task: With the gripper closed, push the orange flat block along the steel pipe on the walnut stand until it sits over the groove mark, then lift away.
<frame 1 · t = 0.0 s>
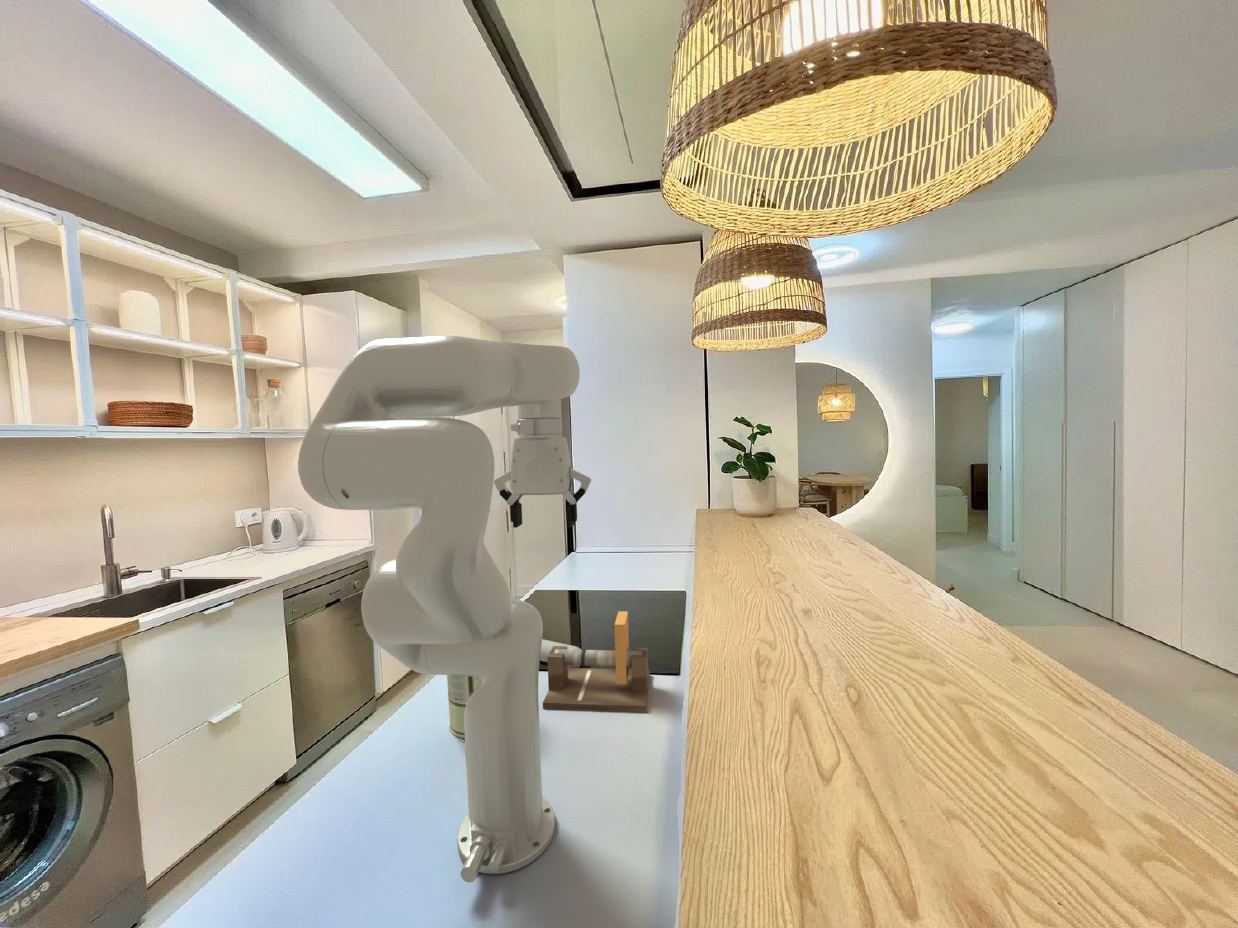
hand: (544, 526, 86), 37 cm above the table, tool pointing down, fingers open, 9 cm apart
orange flat block: (622, 646, 98), point 9 cm above the table, slide at 0.0 cm
coffee can: (478, 722, 90), on the table
pipe stand: (599, 690, 99), on the table
tube: (537, 659, 115), on the table
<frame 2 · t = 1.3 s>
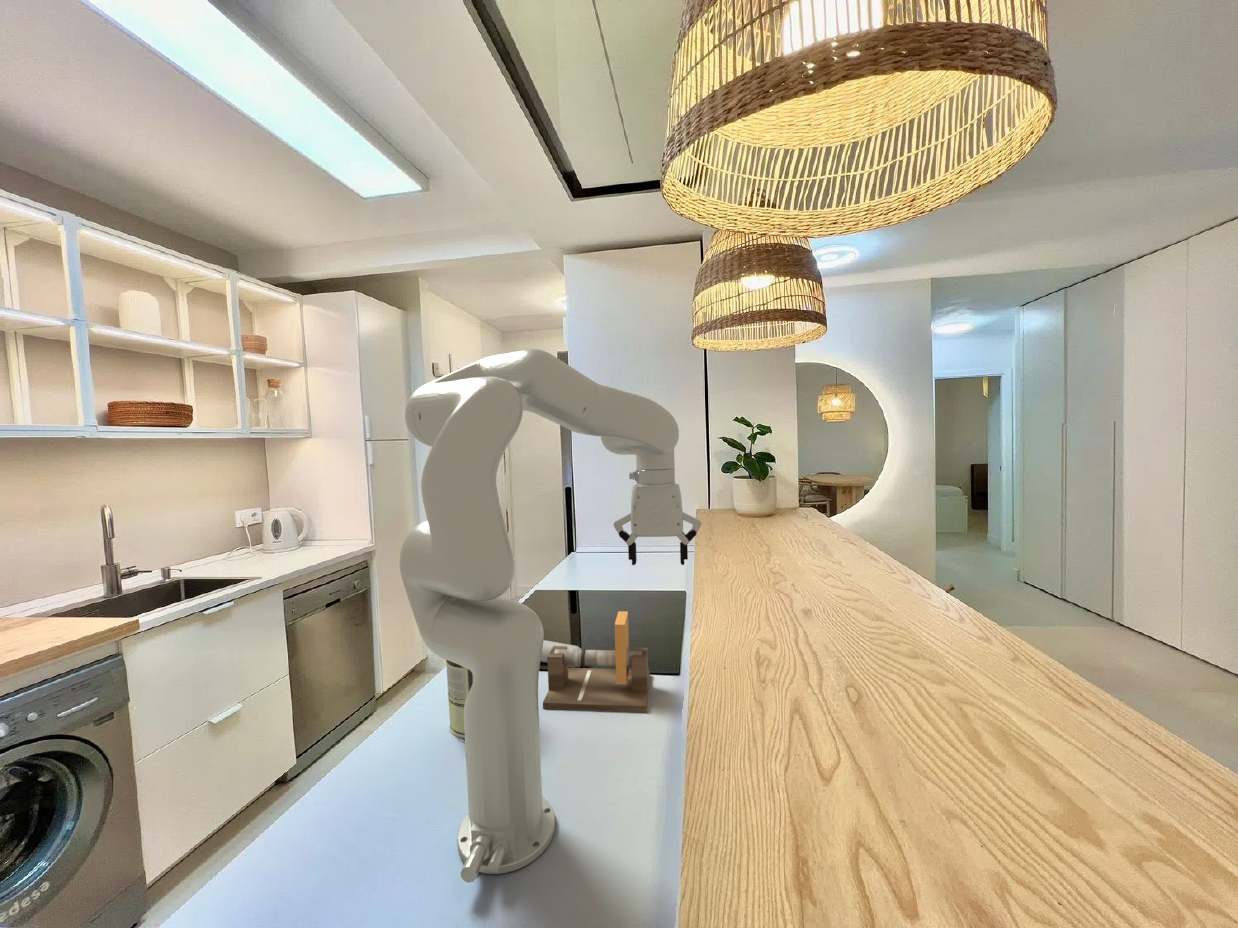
hand: (658, 563, 96), 27 cm above the table, tool pointing down, fingers open, 9 cm apart
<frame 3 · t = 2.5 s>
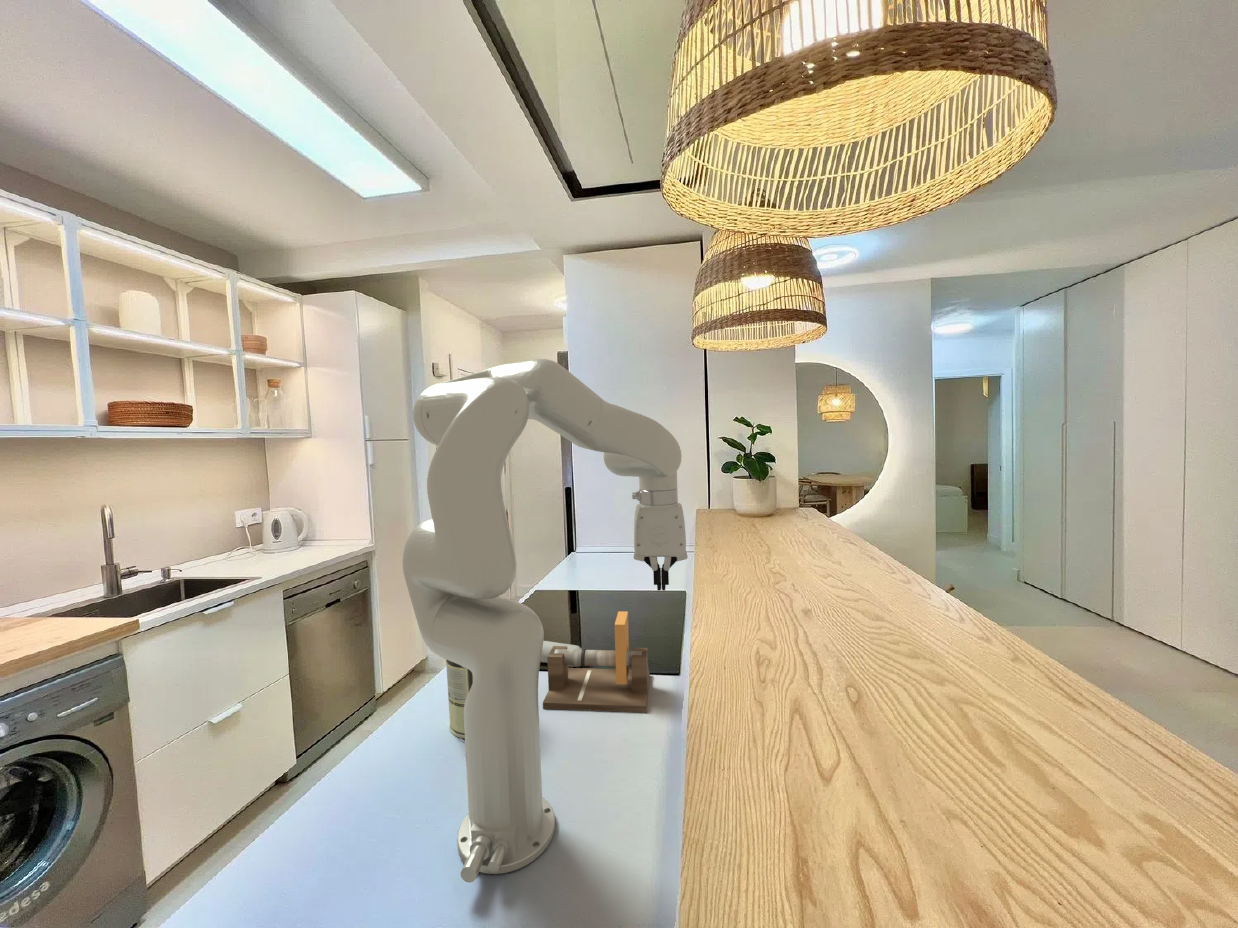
hand: (661, 588, 97), 22 cm above the table, tool pointing down, fingers closed
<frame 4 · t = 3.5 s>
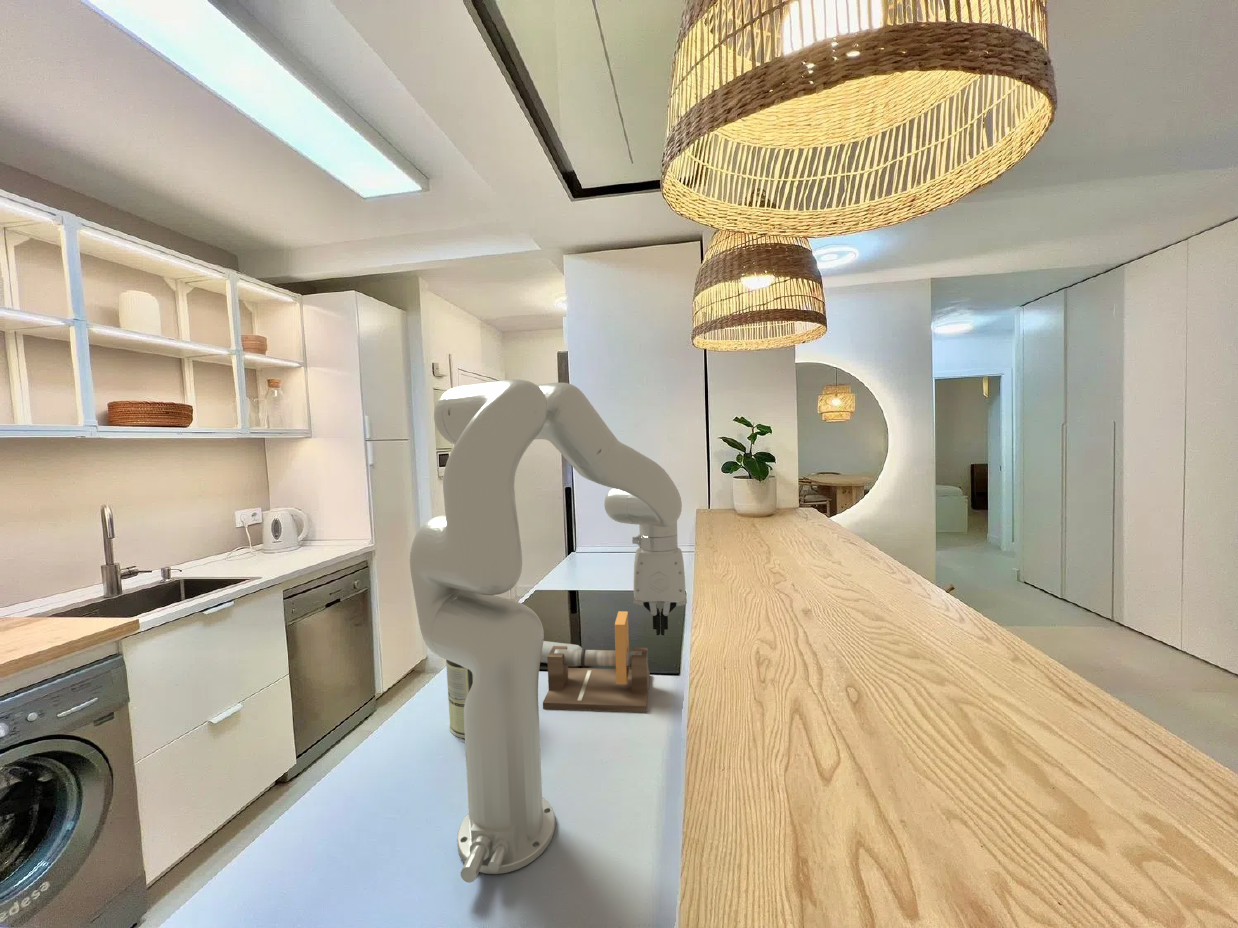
hand: (660, 632, 97), 13 cm above the table, tool pointing down, fingers closed
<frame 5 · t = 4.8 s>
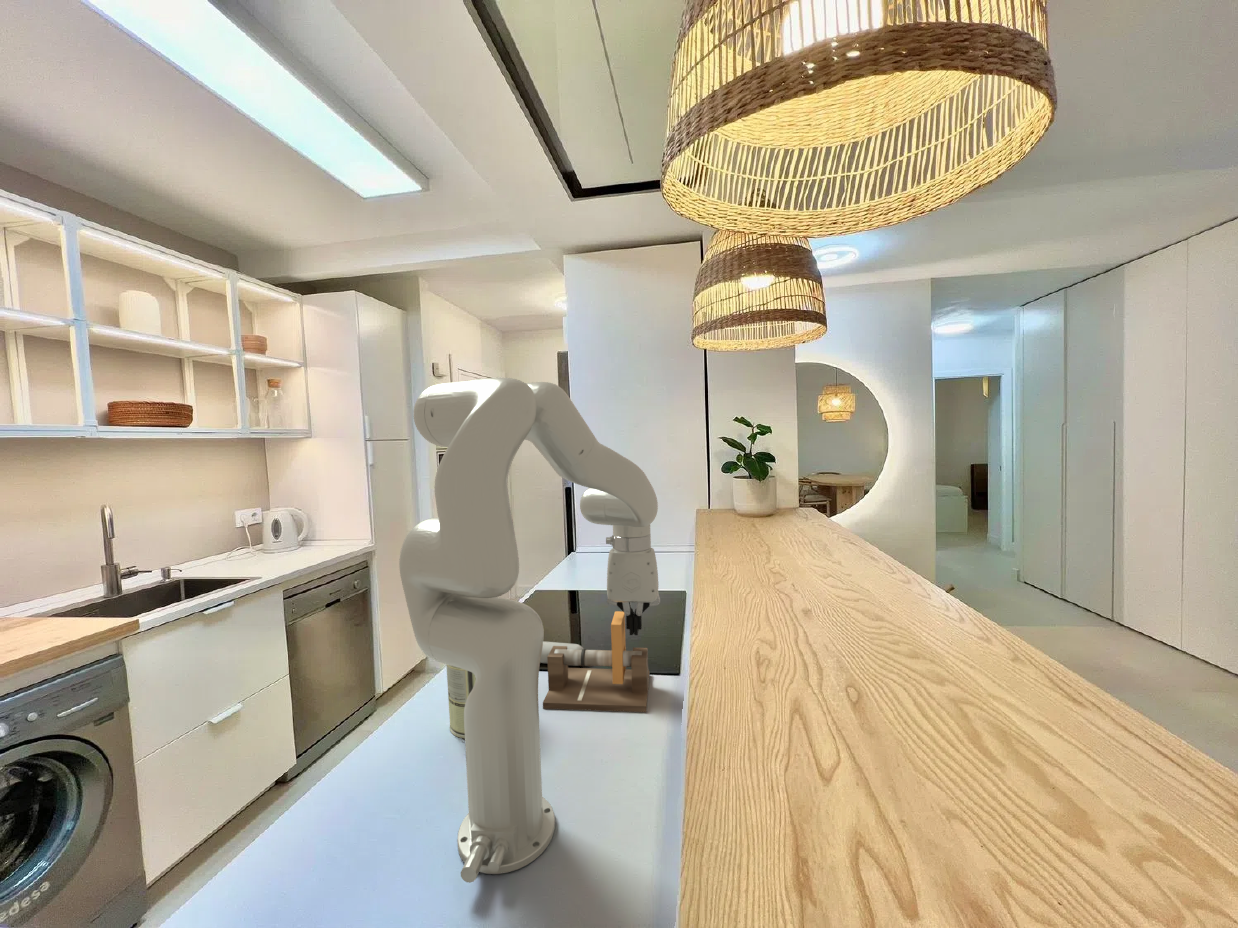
hand: (634, 632, 98), 13 cm above the table, tool pointing down, fingers closed
orange flat block: (618, 646, 98), point 10 cm above the table, slide at 0.7 cm, touching gripper
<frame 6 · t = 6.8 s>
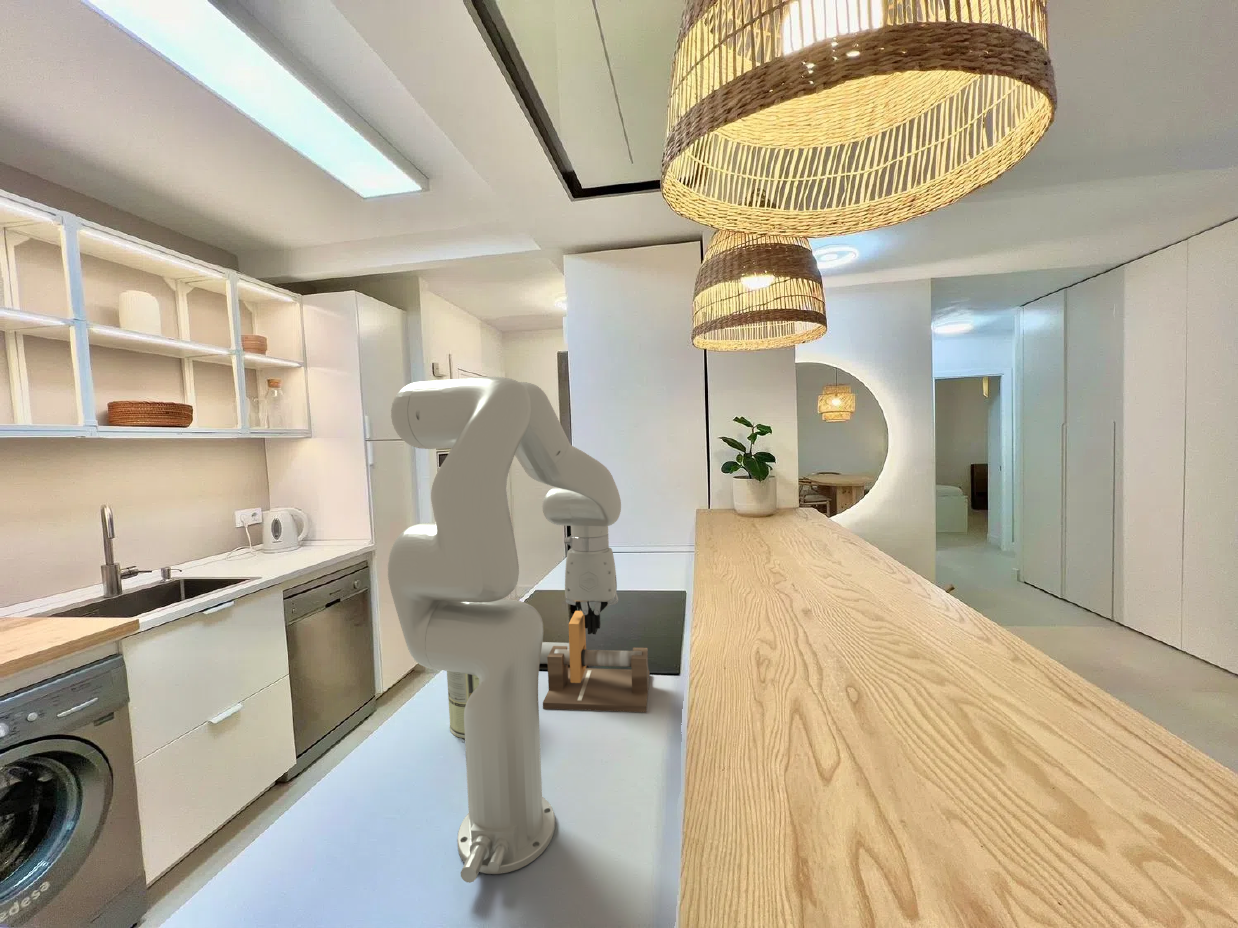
hand: (592, 631, 99), 13 cm above the table, tool pointing down, fingers closed
orange flat block: (577, 645, 99), point 9 cm above the table, slide at 9.2 cm, touching gripper
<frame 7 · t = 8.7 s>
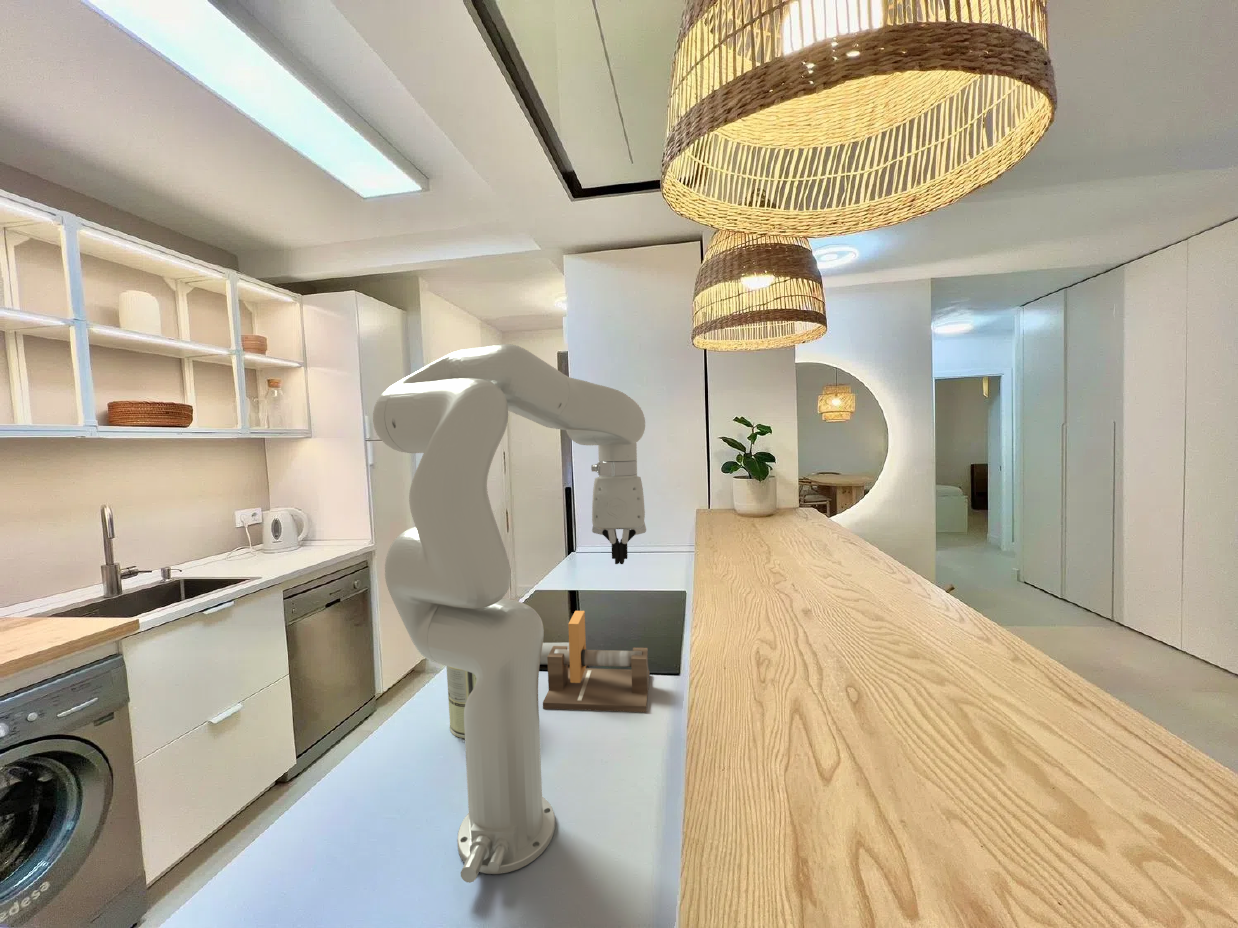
hand: (619, 562, 96), 27 cm above the table, tool pointing down, fingers closed
orange flat block: (577, 645, 99), point 9 cm above the table, slide at 9.2 cm
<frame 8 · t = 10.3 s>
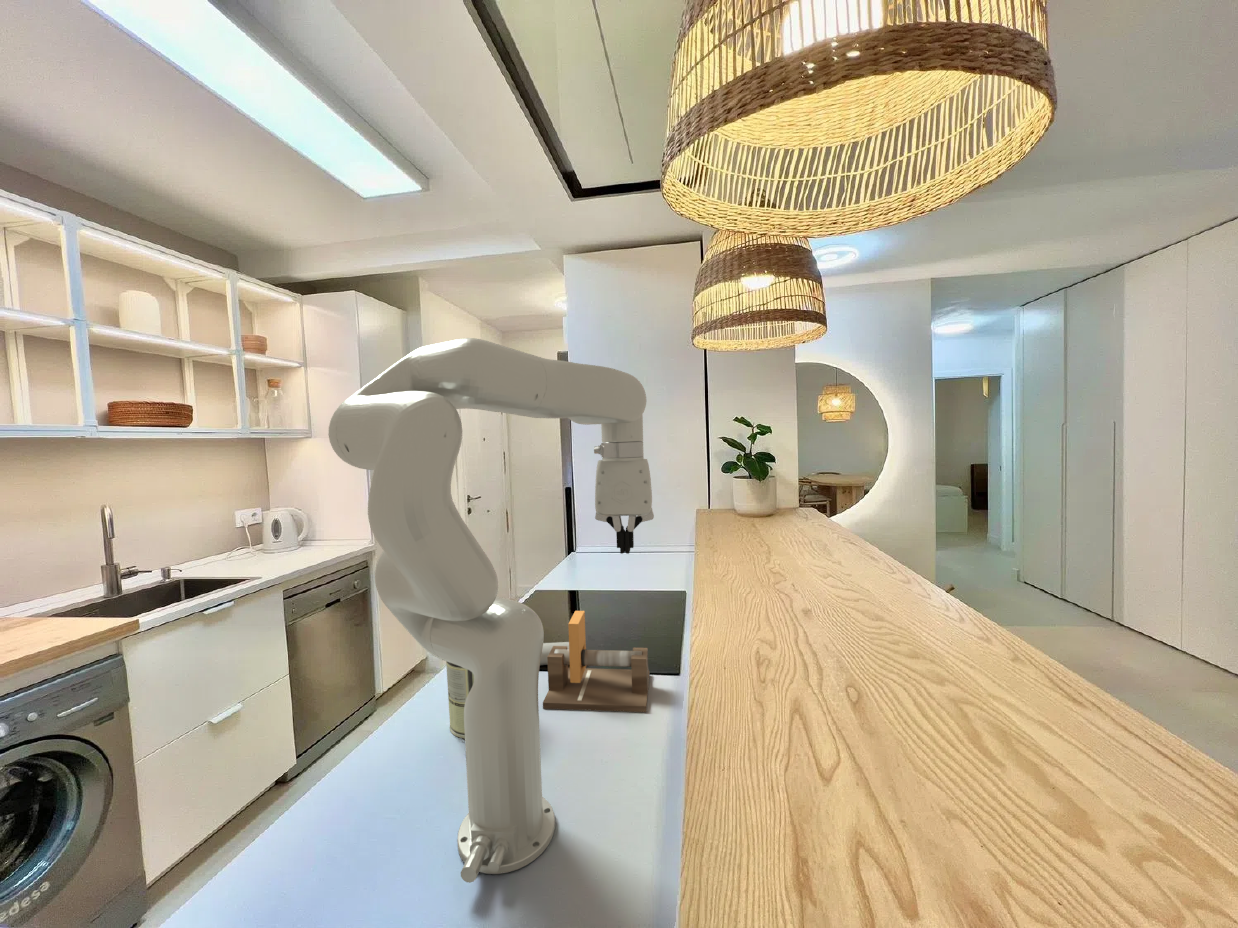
hand: (625, 551, 89), 31 cm above the table, tool pointing down, fingers closed
at the end: orange flat block slide at 9.2 cm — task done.
